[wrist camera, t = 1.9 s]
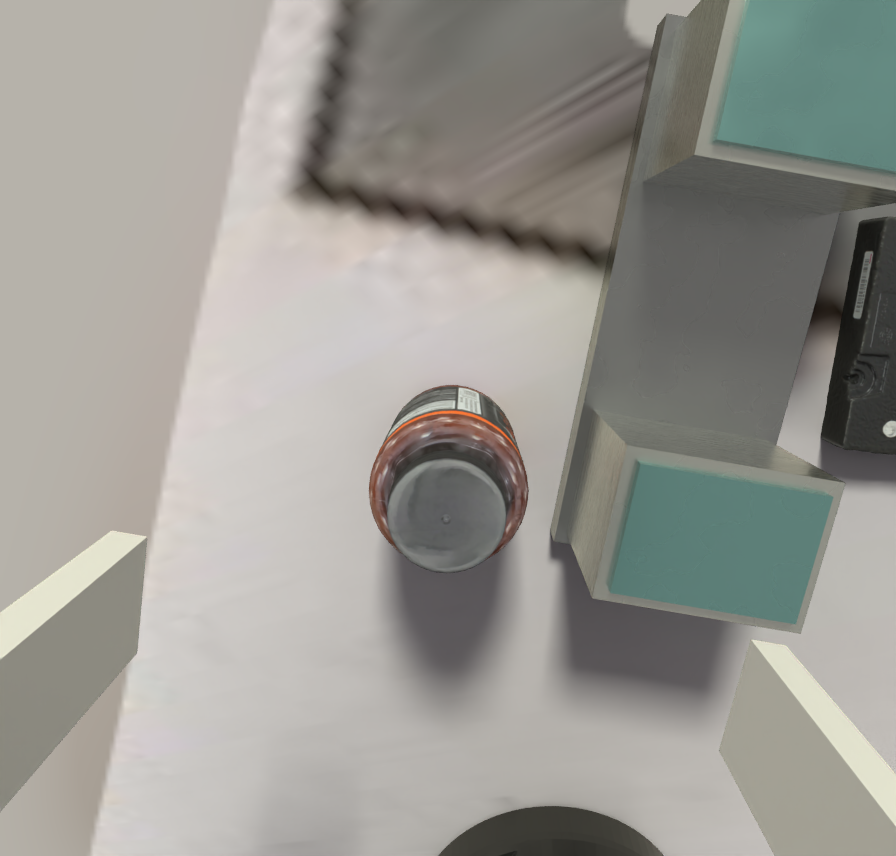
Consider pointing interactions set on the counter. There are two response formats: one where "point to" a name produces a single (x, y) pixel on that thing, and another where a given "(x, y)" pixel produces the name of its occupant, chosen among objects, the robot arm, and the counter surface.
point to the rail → (724, 307)
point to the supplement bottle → (449, 480)
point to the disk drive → (866, 348)
